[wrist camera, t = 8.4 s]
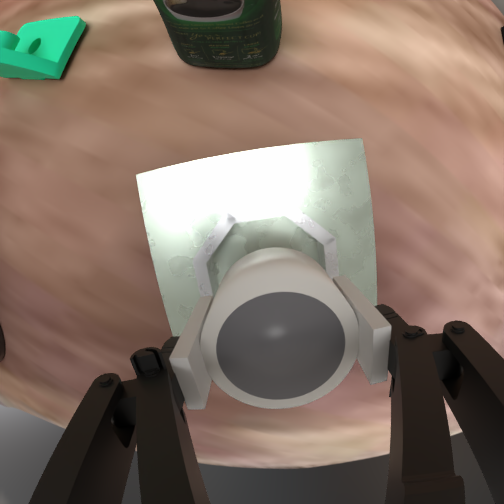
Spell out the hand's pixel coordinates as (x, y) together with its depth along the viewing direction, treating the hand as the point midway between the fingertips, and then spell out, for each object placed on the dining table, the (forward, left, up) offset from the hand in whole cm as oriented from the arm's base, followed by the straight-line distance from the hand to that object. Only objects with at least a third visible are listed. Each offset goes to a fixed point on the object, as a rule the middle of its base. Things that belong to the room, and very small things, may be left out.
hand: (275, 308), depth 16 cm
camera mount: (-22, +30, -10) cm, 38 cm away
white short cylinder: (0, 0, 0) cm, 0 cm away
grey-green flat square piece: (0, 0, -10) cm, 10 cm away
